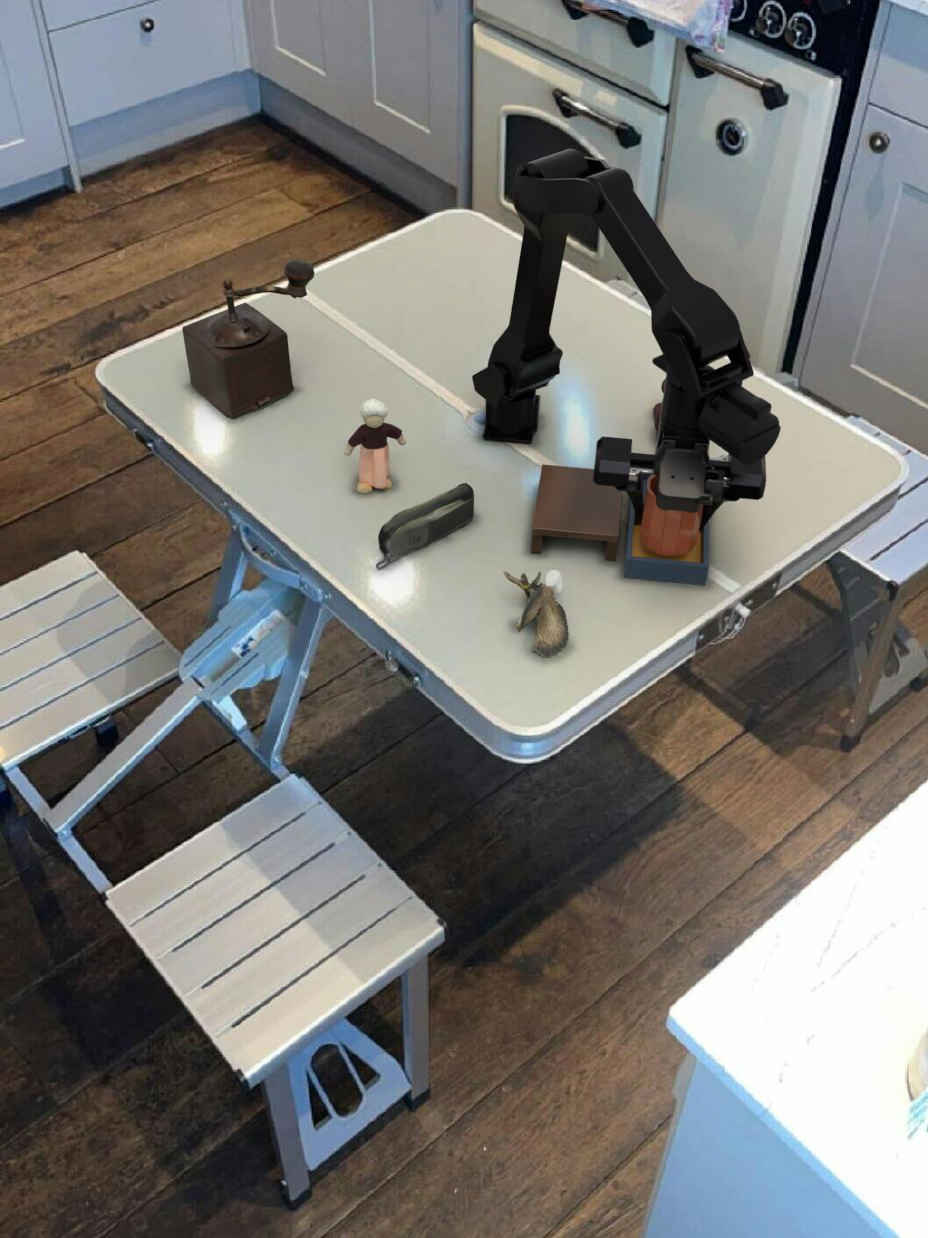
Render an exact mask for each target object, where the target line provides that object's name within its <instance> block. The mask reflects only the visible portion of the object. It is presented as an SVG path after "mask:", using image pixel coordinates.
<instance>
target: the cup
mask: <svg viewBox="0 0 928 1238" xmlns="http://www.w3.org/2000/svg"><path fill="white" fill-rule="evenodd" d="M657 481H658V475H653V474H652V475H651V476H650V477H649V478H648V479H647V484H646V491H645V498H644V505H643V517H642V523H641V526H640V540H641V541H642V543H643V544H644V545H645V547H646V548H647V549H649V550H651V551H653V552H655V553H658V554H660V555H669V556H677V555H681V554H684V553H688V552H689V551H690V550H691V549H692V548H693V547H694V546H695V545H696V544H697V539H698V533H699V528H700V522H701V517H702V512H703V506H704V505H702V504H701V507H700V509H699V510H698V511H697V512H695V513H687V512H685V511H676V510H669V511H666V510H661V509H659V508H658V507H657V505H656V494H657Z"/></svg>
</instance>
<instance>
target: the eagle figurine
mask: <svg viewBox="0 0 928 1238" xmlns="http://www.w3.org/2000/svg"><path fill="white" fill-rule="evenodd" d="M503 575H504V576H505V578H506V579H507V580H508V581H509V582H511V583H512V584H514V585H517V587H519V588H520V590H523V592H524V593H525V596H526V598H527V602H526V604H525V606H524V608H523V611H522V613H521V615H520V617H519V619H518V622H517V624H515V627H516V628H517V632H518V633H520V632H521V630H522V629H523V628H524V627H525V626H526V625H527V624H528V623H530V622H531V621H532V620H533V619H534V618H535V619H536V622H537V629H536V636H535V639H534V641H533V645H532V651H533V652H536V655H538V656H539V655H540V656H541V657H542V658H551V657H552V656H553V655H554V656H555V655H557V654H558V653H559V652H560V651H563V648H565V647H566V646H567V643H568V640H569V636H570V632H569V625H568V618H567V613H566V611H565V610H564V607H563V606H562V604H561V603H559V601H557V600H556V598H555V597H553V596H556V595H559V594H561V593H562V592H563V589H564V585H563V584H564V583H563V581H564V580H563V576H562V573H561V572H560V571H559V570H558V569H557V570H556V569H549V570H548V571H546V572H545V577H544V583H542V581H541V576H542V572H541V571H538V572H537V575H536V577H535V578H534V579H533V580H532V581H531V583H530V582H529V579H528V577H527V574H526V573H525V572H522V573H521V575H520V579H518V578H516V577H514V576H513V575H511V574H510V573H509V572H507V571H503Z"/></svg>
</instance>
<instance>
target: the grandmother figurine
mask: <svg viewBox="0 0 928 1238" xmlns="http://www.w3.org/2000/svg"><path fill="white" fill-rule="evenodd" d="M359 410H360V411H359V413H360V416H361V418H363V422H364V423H363V424H361V425H360V426H359V427H357V429H356V430H355V431H354V432H353V434H352V435H351V436H350V437H349V438H348V440H347V443H346V445H345V448H344V449H343V454H344V455H345V457H346V456H347V457H349V456H351V455H352V454H353V451H354V450H355V448H356V447H357V446H360V449H359V450H360V451H359V459H358V482H357V484H356V491H357V492H358V493H360V494H369V493H371V492H372V491H373V488H375V489H379V490H381V491H383V490H385V491H386V490H389V489H391V488H392V487H393V482H392V481H391V479H390V478H389V476H390V463H391V461H390V458H391V457H390V445H389V443H388V438H390V439H393V440H395V441H397V443H398V445H400V446H405V445H406V444H407V439H406V438H405V437H404V434H403V430H402V429H401V428H399V427H398V426H397V425H395V424H391V423H388V422H385V419H386V418H387V416H388V414H389V409H388V407H387V405H385V403H384V402H382V401H380V400H378V399H376V398H370V399H367V400H364V401H363V402H362V405H361V406H360V408H359Z"/></svg>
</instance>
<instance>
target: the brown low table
mask: <svg viewBox="0 0 928 1238" xmlns="http://www.w3.org/2000/svg"><path fill="white" fill-rule="evenodd" d="M593 475H594V468H586V467H575V466H565V465H564V466H563V465H554V464H541V469H540V476H539V482H538V489H537V495H536V501H535V509H534V514H533V521H532V529H531V541H530V543H531V544H530V554H534V555H535V554H536V555H542V549H543V543H544V536H546V537H547V536H548V537H559V538H569V539H577V540H578V539H579V540H590V541H600V542H606V546H605V547H606V549H605V557H604V558H605V559H604V560H605V561H606V562H616V561H617V552H618V544H619V538H620V537H619V535H620V525H621V524H620V522H621V510H622V501H623V499H622V498H623V491H618V490H616V488H615V487H614V486H603V485H597V484H596V483H594V482H593Z"/></svg>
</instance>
